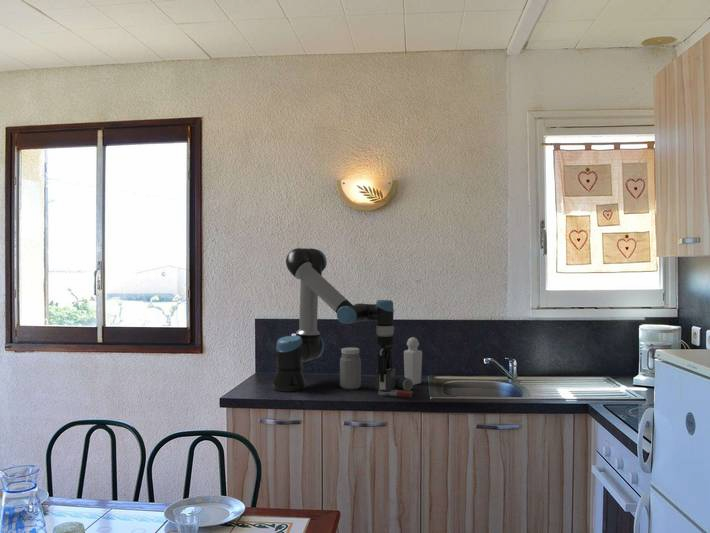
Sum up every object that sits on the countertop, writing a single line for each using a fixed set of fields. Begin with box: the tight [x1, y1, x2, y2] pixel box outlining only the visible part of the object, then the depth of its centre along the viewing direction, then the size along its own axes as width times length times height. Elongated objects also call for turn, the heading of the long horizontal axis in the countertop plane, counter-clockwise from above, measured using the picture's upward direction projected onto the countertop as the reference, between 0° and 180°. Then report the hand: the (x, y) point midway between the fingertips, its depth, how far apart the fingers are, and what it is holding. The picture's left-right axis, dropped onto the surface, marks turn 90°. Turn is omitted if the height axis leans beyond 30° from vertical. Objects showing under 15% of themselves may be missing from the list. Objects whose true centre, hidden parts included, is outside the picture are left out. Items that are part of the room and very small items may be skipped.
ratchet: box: [377, 389, 414, 399], centre depth 236 cm, size 15×6×6 cm, turn 70°
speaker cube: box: [374, 368, 396, 390], centre depth 238 cm, size 7×7×8 cm
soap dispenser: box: [403, 336, 423, 386], centre depth 260 cm, size 6×6×22 cm
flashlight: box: [395, 375, 414, 391], centre depth 252 cm, size 15×5×5 cm, turn 31°
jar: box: [339, 346, 362, 390], centre depth 251 cm, size 10×10×18 cm
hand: (385, 387), depth 238 cm, fingers closed on speaker cube, 7 cm apart
